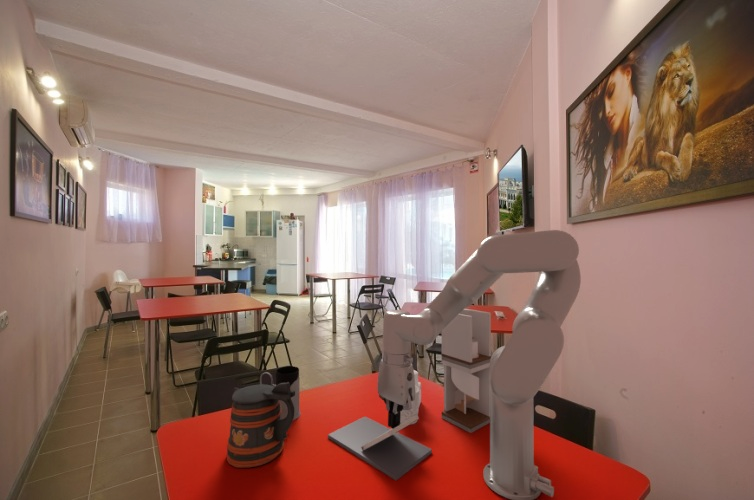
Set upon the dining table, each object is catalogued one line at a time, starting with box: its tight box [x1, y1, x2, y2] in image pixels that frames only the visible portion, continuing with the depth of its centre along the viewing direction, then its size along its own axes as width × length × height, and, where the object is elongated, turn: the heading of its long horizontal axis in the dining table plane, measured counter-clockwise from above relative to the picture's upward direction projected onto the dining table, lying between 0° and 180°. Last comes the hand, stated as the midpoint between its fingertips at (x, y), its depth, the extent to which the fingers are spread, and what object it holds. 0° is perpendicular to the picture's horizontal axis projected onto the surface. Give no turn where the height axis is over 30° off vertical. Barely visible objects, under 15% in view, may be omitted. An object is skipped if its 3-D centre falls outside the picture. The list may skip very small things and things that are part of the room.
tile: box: [361, 414, 420, 450], centre depth 89 cm, size 12×12×1 cm
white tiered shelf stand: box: [441, 308, 492, 434], centre depth 106 cm, size 11×11×35 cm
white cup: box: [400, 386, 420, 425], centre depth 106 cm, size 8×8×10 cm
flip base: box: [327, 416, 433, 481], centre depth 92 cm, size 26×15×1 cm, turn 46°
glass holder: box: [259, 365, 302, 421], centre depth 109 cm, size 9×14×15 cm, turn 81°
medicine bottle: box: [414, 369, 422, 409], centre depth 117 cm, size 7×7×12 cm
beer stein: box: [226, 382, 295, 469], centre depth 88 cm, size 19×15×20 cm
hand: (394, 425), depth 87 cm, fingers closed
